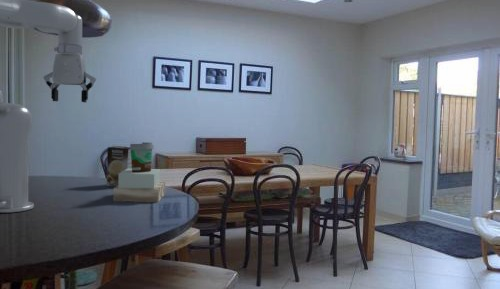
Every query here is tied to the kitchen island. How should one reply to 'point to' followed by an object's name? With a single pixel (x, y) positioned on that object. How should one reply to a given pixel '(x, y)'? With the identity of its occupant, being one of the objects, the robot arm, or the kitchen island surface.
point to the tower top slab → (139, 179)
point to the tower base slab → (140, 194)
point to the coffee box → (117, 163)
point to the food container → (141, 157)
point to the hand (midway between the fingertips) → (69, 101)
